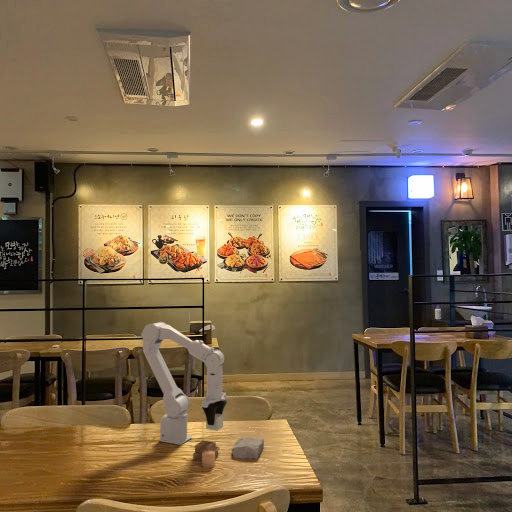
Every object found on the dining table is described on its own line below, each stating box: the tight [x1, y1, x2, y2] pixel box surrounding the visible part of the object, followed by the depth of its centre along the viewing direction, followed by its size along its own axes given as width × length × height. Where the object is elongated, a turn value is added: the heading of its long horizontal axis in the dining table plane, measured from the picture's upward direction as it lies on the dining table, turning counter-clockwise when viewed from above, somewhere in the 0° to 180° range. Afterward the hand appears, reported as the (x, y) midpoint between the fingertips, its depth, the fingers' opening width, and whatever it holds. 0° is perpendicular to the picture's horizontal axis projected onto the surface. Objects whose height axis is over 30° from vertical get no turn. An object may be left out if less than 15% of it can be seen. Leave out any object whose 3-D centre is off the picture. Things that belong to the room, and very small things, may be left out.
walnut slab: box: [192, 449, 219, 463], centre depth 148 cm, size 6×6×2 cm
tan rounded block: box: [201, 450, 216, 469], centre depth 142 cm, size 4×4×4 cm
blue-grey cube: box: [205, 413, 224, 432], centre depth 162 cm, size 4×4×4 cm
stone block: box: [231, 436, 265, 460], centre depth 153 cm, size 12×5×10 cm
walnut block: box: [194, 439, 217, 454], centre depth 148 cm, size 5×5×2 cm
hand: (214, 422), depth 162 cm, fingers closed on blue-grey cube, 4 cm apart
